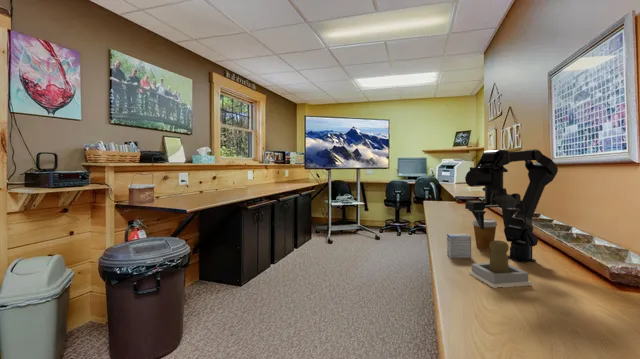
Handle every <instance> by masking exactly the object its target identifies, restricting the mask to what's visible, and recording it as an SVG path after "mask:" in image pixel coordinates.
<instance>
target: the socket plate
mask: <svg viewBox="0 0 640 359" xmlns="http://www.w3.org/2000/svg"><path fill="white" fill-rule="evenodd" d="M489 265H490V262H481V263H478V262H477V263H471V270H469V272H468V274H469V275H471V276H472V277H474V278H475V279H478V280H479V281H481V282H482V281H483V282H482V283H483V284H486V285H487V284H488V287H491V288H492V287H493V288H492V289H498V288H497V287H503V288H515V286H516V287H524V286H525V287H527V286H528V285H529V286H532V281H530V280H529V272H526V271H525V270H522V269H520V268H518V267H516V266H513V265H511V264H509V263H508V265H509V272H510V273H498V274H495V273H493V272H491V271H489Z"/></svg>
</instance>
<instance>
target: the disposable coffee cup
mask: <svg viewBox="0 0 640 359" xmlns="http://www.w3.org/2000/svg"><path fill="white" fill-rule="evenodd" d="M471 222H472V225H473V231H474V240H475V246H476V248H477V249H479V250H483V251H484V250H485V251H486V250H487V251H491V250H490V247H489V245H490V243H491V241H495V238H496V230H497V226H498V223H497V220H495V219H493V218H484V229H483V230H482V229H481V228H480V226H479V224H478V222H477V220H476V218H474V219H473V220H472V221H471Z"/></svg>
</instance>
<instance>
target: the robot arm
mask: <svg viewBox="0 0 640 359" xmlns="http://www.w3.org/2000/svg"><path fill="white" fill-rule="evenodd" d="M523 161H524V163H525V164H524V165H525V166H524V167H525V169H526V170H527V171H528V172H527V176H528V179H529V180H528V181H529V183H528V185H527V188H526V190H525V193H524V195H523V196H522V198H521V194H520V193H512V194H511V193H509V194H508V193H507V192H508V191H507V188H505V187H504V173H508V171H509V170H508V169H507V168H506V167H504V166H506V165H509V164H510V163H513V162H514V163H515V162H523ZM533 161H535V162H533ZM558 172H559V168H558V165H557V164H556V163H555V162H554V161H553V159H552V158H550V157H548V156H546V155H545V154H543V153H542V151H541V150H539V149H525V150H519V151H518V150H517V151H509V150H505V149H492V150H484V151H483V152H482V155H481V157H480V158H479V160H478V162H477V163H476V166H470V167H469V171H468V172H467V173H466V175H465V177H464V180H465V183H466V184H467V185H468V186H469V187H472V188H474V187H482V192H484V198H482V201H480V200H479V201H478V200H467V201H466V202H465V204H464V205H465V208H464V209H465V210H468V211H469V212H471V213H472V215H473V217H474V219H476V220H477V222H478V224H479V226H480V228H481V229H482V230H483V229H484V219H485V217H484V216H485V214H486V212H487V211H485V209H486V208H487V209H489V208H500V209H501V212H502V220H503V221H502V222H503V227H504V229H503V233H504V236H505V239H506V242H508V243H510V246H509V255H507V259H508V258H509V259H511V260H513V261H516V262H519V263H529V262H531V263H532V262H536V261H537V260H536V259H534V258H533V247H535V246H537V245H538V242H539V239H538V237H537V236H536V235H535V234H534V233H533V231H534V225H533V222H532V220H533V217H534V214H535V211H536V210H537V207H538V205H539V203H540V199H541V197H542V195H543V192H544V190H545V187H546V186H547V185H548V184H550V183H551V182H553V181H554V179H555V177H556V176H557V174H558ZM521 199H522V200H521Z"/></svg>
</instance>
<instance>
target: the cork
mask: <svg viewBox="0 0 640 359" xmlns="http://www.w3.org/2000/svg"><path fill="white" fill-rule="evenodd" d="M489 247H490V250H489V251H491V252H490V259H489V263H490V265H489V271H491V272H493V273H495V274H498V273H510V272H509V265H510V264H509V260H508V255H507V254H508V252H509V250H510V246H509V244H508V243H507V241H504V240H494V241H491V243H490V245H489ZM508 264H509V265H508Z"/></svg>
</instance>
